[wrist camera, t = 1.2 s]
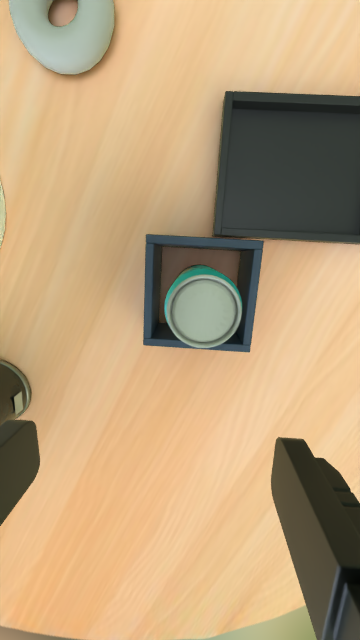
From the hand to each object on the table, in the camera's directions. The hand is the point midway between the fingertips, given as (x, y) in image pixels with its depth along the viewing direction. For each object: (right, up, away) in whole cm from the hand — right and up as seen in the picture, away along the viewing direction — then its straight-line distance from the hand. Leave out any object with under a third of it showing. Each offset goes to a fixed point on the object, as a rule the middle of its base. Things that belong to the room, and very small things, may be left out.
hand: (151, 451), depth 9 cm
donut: (-10, +35, +18) cm, 40 cm away
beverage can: (+3, +8, +24) cm, 26 cm away
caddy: (+3, +8, +24) cm, 25 cm away
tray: (+14, +20, +20) cm, 32 cm away
